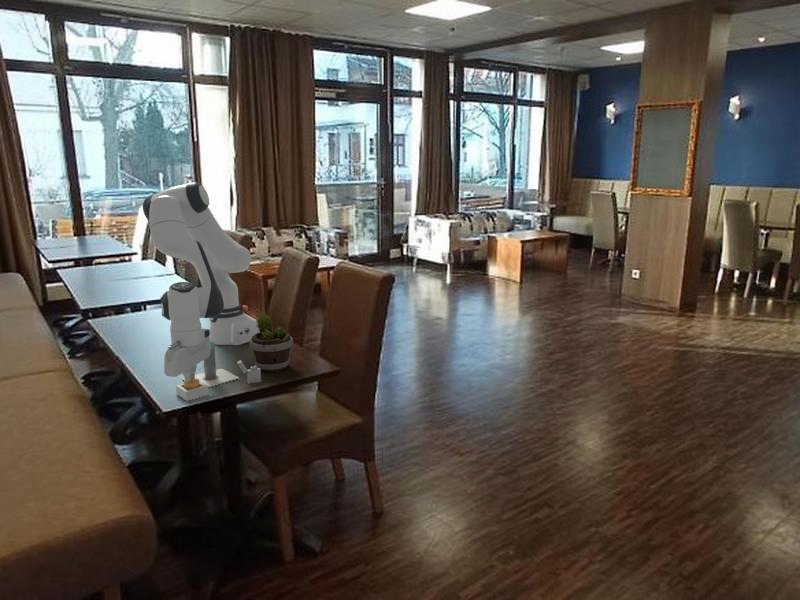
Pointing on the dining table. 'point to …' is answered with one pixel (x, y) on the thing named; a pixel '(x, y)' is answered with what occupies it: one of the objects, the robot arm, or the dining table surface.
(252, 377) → the lighter
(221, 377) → the paper pad
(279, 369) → the flowerpot
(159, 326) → the dining table surface
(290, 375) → the dining table surface
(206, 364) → the grey teal bottle
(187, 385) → the button
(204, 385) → the button box
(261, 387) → the dining table surface
